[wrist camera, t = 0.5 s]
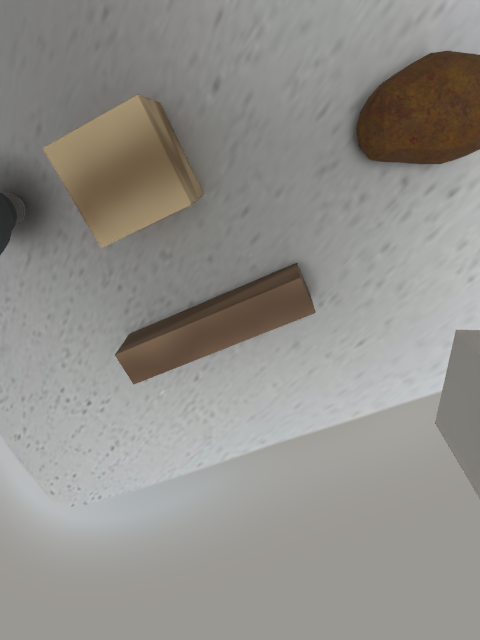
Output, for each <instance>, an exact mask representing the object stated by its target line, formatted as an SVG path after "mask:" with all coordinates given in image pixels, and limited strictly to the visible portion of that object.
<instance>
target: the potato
mask: <svg viewBox="0 0 480 640" xmlns="http://www.w3.org/2000/svg"><path fill="white" fill-rule="evenodd" d="M357 135H358V143H359V146H360V148H361V149H362V150H363V151H364V153H365V154H366V155H367V156H368V158H369V159H371V160H375V161H383V162H404V163H416V164H441V163H445V162H448V161H452V160H455V159H458V158H460V157H463V156H466V155H468V154H470V153H473V152H475V151H477V150H479V149H480V55H476V54H468V53H460V52H452V51H443V52H437V53H430V54H429V55H427V56H425V57H423V58H421V59H419V60H417V61H416V62H414V63H412V64H411V65H409V66H408V67H406V68H404V69H403V70H401V71H400V72H398V73H397V74H395V75H394V76H392V77H391V78H389V79H388V80H386V81H385V82H383V83H382V84H381V85H380V86H379V87H378V88H377V89H376V90H375V92H374V93H373V94H372V95H371V96H370V98H369V99H368V101H367V102H366V104H365V106H364V107H363V109H362V111H361V113H360V117H359V121H358V125H357Z"/></svg>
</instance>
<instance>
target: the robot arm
mask: <svg viewBox="0 0 480 640" xmlns="http://www.w3.org/2000/svg"><path fill="white" fill-rule="evenodd" d="M435 424H436V426H437V427H438V429H439V431H440V432H441V434H442V436H443V437H444V439H445V441H446V442H447V444H448V446H449V447H450V449H451V451H452V452H453V454H454V456H455V458H456V459H457V461H458V463H459V464H460V466H461V468H462V469H463V471H464V473H465V475H466V476H467V478H468V479H469V481H470V483H471V485H472V486H473V488H474V490H475V491H476V493H477V495H478V496H479V498H480V330H456V332H455V337H454V341H453V346H452V350H451V355H450V359H449V364H448V368H447V372H446V377H445V381H444V386H443V390H442V395H441V399H440V403H439V408H438V412H437V417H436V421H435Z"/></svg>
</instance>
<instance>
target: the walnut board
mask: <svg viewBox="0 0 480 640" xmlns="http://www.w3.org/2000/svg"><path fill="white" fill-rule="evenodd" d="M313 313H315V309H314V306H313V302H312V299H311V295H310V293H309V291H308V288H307V286H306V283H305V281H304V279H303V276H302V274H301V272H300V269H299V267H298V265H297V263H296V264H293V265H291V266H289V267H286V268H284V269H282V270H279V271H277V272H275V273H272V274H270V275H267V276H265V277H263V278H260V279H258V280H256V281H253V282H251V283H249V284H246V285H244V286H242V287H239V288H237V289H235V290H232V291H230V292H228V293H225V294H223V295H220V296H218V297H216V298H213V299H211V300H209V301H206V302H204V303H202V304H199V305H197V306H195V307H192V308H190V309H188V310H185V311H183V312H180V313H178V314H176V315H173V316H171V317H169V318H166V319H164V320H162V321H159V322H157V323H155V324H152V325H150V326H148V327H145V328H143V329H140V330H138V331H136V332H133V333H131V334H129V336H128V337H127V338H126V340H125V341H124V343H123V344H122V346H121V347H120V348H119V350H118V351H117V353H116V354H115V356H116V357H117V359H118V361H119V362H120V364H121V365H122V367H123V368H124V370H125V372H126V373H127V375H128V376H129V378H130V379H131V381H132V383H133V384H136V383H139V382H141V381H144V380H146V379H149V378H151V377H154V376H156V375H159V374H161V373H164V372H167V371H169V370H172V369H174V368H177V367H179V366H182V365H184V364H187V363H189V362H192V361H194V360H197V359H199V358H202V357H204V356H207V355H210V354H212V353H215V352H217V351H220V350H222V349H225V348H227V347H230V346H232V345H235V344H237V343H240V342H242V341H245V340H248V339H250V338H253V337H255V336H258V335H260V334H263V333H265V332H268V331H270V330H273V329H275V328H278V327H280V326H283V325H285V324H288V323H291V322H293V321H296V320H298V319H301V318H303V317H306V316H308V315H311V314H313Z"/></svg>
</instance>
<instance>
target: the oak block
mask: <svg viewBox="0 0 480 640" xmlns="http://www.w3.org/2000/svg"><path fill="white" fill-rule="evenodd" d="M43 150H44V152H45V154H46V155H47V157H48V159H49V160H50V162H51V164H52V165H53V167H54V169H55V171H56V172H57V174H58V176H59V177H60V179H61V181H62V182H63V184H64V186H65V188H66V189H67V191H68V193H69V194H70V196H71V198H72V199H73V201H74V203H75V205H76V206H77V208H78V210H79V211H80V213H81V215H82V216H83V218H84V220H85V222H86V223H87V225H88V227H89V228H90V230H91V232H92V233H93V235H94V237H95V239H96V240H97V242H98V244H99V245H100V247H101V248H103V247H105V246H107V245H109V244H111V243H114V242H116V241H118V240H120V239H122V238H124V237H126V236H128V235H130V234H132V233H134V232H136V231H138V230H140V229H142V228H145V227H147V226H149V225H151V224H153V223H155V222H157V221H159V220H161V219H163V218H165V217H167V216H169V215H171V214H173V213H176V212H178V211H180V210H182V209H184V208H186V207H188V206H190V205H192V204H193V203H194V202H195V201H196V200H198V199H199V198H200V197H201V196H202V195H203V192H202V189H201V187H200V185H199V183H198V181H197V179H196V177H195V175H194V173H193V171H192V168H191V166H190V164H189V162H188V160H187V158H186V156H185V154H184V152H183V150H182V148H181V145H180V143H179V141H178V139H177V137H176V135H175V133H174V131H173V129H172V127H171V125H170V122H169V120H168V118H167V116H166V114H165V112H164V110H163V108H162V106H161V104H160V102H157V101H154V100H151V99H148V98H146V97H143V96H140V95H136V96H134V97H133V98H131V99H129V100H127V101H125V102H124V103H122V104H120V105H118V106H117V107H115V108H113V109H111V110H109V111H108V112H106V113H104V114H102V115H101V116H99V117H97V118H95V119H93V120H92V121H90V122H88V123H86V124H85V125H83V126H81V127H79V128H77V129H76V130H74V131H72V132H70V133H69V134H67V135H65V136H63V137H61V138H60V139H58V140H56V141H54V142H53V143H51V144H49V145H47V146H45V147H44V148H43Z"/></svg>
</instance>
